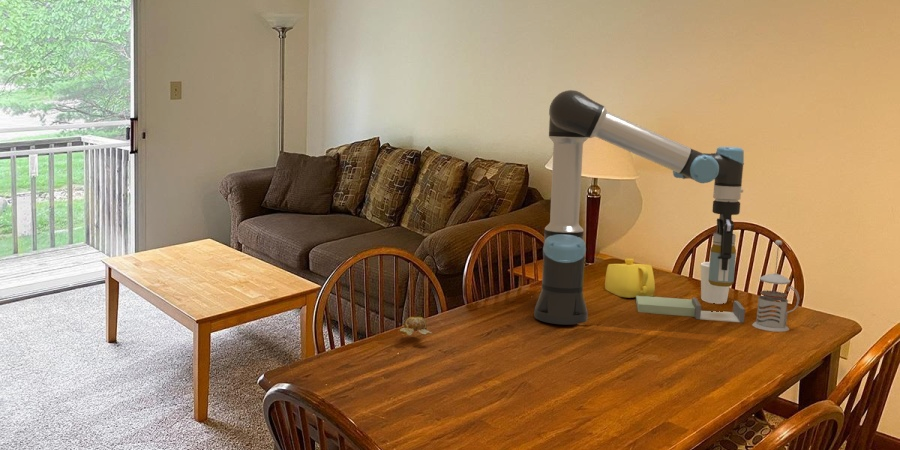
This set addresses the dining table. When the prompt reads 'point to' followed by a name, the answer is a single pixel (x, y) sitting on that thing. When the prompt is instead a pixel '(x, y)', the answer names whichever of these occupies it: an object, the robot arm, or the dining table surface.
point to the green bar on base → (687, 308)
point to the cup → (711, 288)
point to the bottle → (715, 262)
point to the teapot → (630, 279)
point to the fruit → (415, 326)
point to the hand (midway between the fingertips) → (720, 278)
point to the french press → (774, 303)
